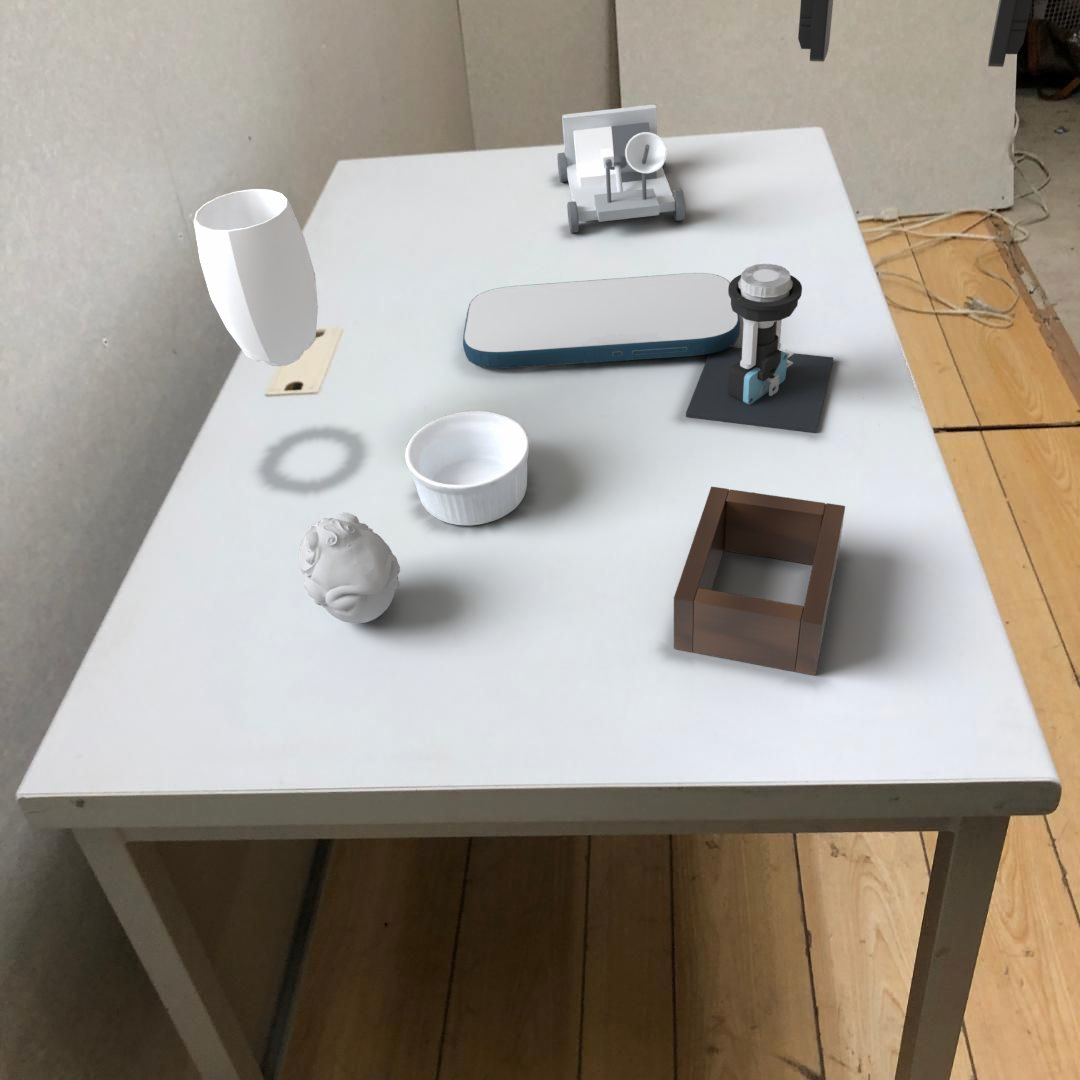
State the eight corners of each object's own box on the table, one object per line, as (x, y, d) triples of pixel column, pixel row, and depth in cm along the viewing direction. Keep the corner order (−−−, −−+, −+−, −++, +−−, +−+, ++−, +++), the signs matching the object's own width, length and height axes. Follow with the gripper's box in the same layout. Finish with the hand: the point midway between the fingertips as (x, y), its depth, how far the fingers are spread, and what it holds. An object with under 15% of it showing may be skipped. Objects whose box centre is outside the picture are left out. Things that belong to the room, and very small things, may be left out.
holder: (838, 556, 70) (845, 505, 67) (815, 676, 63) (822, 624, 60) (709, 536, 73) (711, 486, 70) (673, 649, 66) (673, 597, 63)
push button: (763, 356, 88) (771, 244, 81) (817, 379, 85) (829, 265, 78) (710, 391, 85) (713, 278, 78) (763, 417, 82) (771, 301, 75)
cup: (367, 430, 86) (307, 182, 72) (349, 487, 80) (281, 232, 66) (280, 432, 86) (204, 188, 72) (257, 490, 81) (170, 237, 67)
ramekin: (546, 461, 81) (542, 414, 78) (516, 539, 74) (510, 491, 71) (436, 451, 83) (428, 405, 80) (398, 526, 76) (387, 479, 73)
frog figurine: (367, 561, 74) (346, 484, 69) (430, 610, 70) (412, 531, 65) (294, 608, 71) (267, 530, 66) (355, 662, 67) (331, 583, 62)
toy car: (690, 139, 98) (566, 153, 99) (689, 237, 105) (573, 250, 105) (660, 72, 112) (551, 85, 112) (661, 163, 118) (558, 175, 118)
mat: (833, 361, 87) (833, 357, 87) (815, 433, 80) (816, 428, 80) (712, 348, 90) (712, 344, 90) (685, 416, 83) (685, 412, 83)
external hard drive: (730, 289, 96) (730, 269, 95) (743, 358, 88) (744, 337, 86) (473, 307, 99) (470, 288, 97) (461, 376, 90) (458, 356, 89)
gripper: (770, -338, 42) (750, 82, 53) (1171, -372, 38) (1060, 91, 49) (799, -354, 47) (775, 32, 58) (1155, -385, 43) (1058, 37, 54)
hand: (905, 59), depth 53 cm, fingers open, 8 cm apart
